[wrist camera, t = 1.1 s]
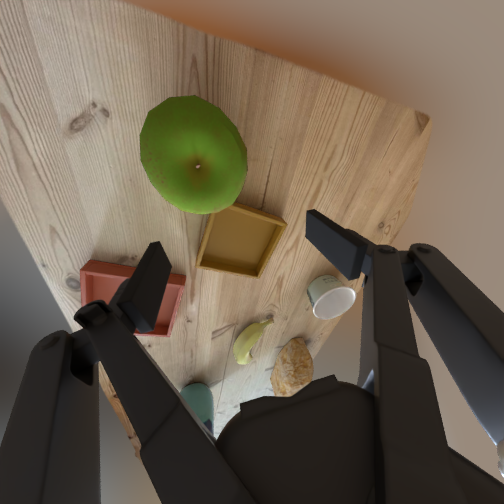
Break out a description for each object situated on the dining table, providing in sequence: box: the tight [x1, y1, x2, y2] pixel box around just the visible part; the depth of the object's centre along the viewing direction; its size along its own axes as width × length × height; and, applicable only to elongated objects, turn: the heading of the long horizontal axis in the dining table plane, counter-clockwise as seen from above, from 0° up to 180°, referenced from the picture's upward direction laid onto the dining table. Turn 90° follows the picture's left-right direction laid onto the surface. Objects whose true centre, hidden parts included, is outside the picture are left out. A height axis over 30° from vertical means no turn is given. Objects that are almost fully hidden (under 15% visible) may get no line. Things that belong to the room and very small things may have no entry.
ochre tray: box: [195, 202, 287, 279], centre depth 36 cm, size 14×14×3 cm
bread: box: [270, 337, 313, 397], centre depth 69 cm, size 36×11×10 cm, turn 173°
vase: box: [180, 383, 214, 435], centre depth 55 cm, size 14×14×31 cm
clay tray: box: [80, 260, 186, 337], centre depth 39 cm, size 18×18×3 cm
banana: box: [233, 317, 274, 364], centre depth 56 cm, size 14×6×20 cm
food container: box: [307, 275, 356, 319], centre depth 49 cm, size 12×12×6 cm
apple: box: [140, 95, 248, 215], centre depth 24 cm, size 12×12×11 cm
